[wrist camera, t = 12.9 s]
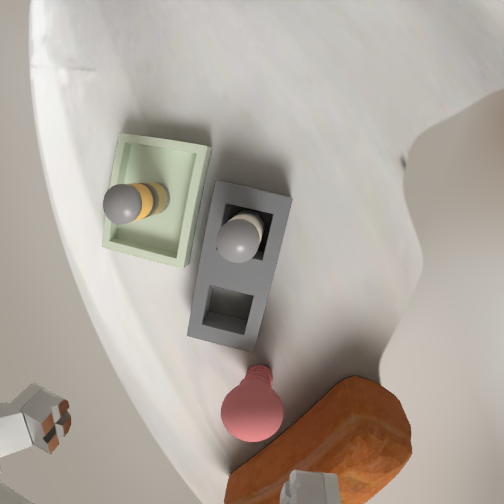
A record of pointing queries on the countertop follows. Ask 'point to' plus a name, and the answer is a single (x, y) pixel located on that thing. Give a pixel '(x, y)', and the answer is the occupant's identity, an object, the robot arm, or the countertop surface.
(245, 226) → the ball
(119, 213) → the cylinder
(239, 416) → the light bulb
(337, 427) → the bread
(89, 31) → the countertop surface
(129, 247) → the tray
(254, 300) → the fuse holder
